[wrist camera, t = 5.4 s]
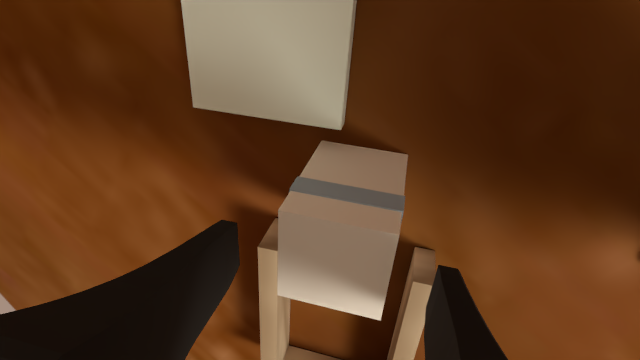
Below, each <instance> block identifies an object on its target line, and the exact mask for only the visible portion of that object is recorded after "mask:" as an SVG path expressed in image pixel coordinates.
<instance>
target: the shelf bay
mask: <svg viewBox="0 0 640 360" xmlns="http://www.w3.org/2000/svg"><path fill="white" fill-rule="evenodd" d="M435 275H436V273H435V251H433V250H428V249H423V248H418V247H415V248H414V252H413V256H412V260H411V264H410V268H409V272H408V276H407V280H406V284H405V288H404V292H403V296H402V300H401V305H400V309H399V313H398V317H397V321H396V325H395V329H394V333H393V337H392V341H391V345H390V349H389V353H388V357H387V360H413V359H414V356H415V353H416V350H417V346H418V343H419V340H420V337H421V333H422V330H423V327H424V324H425V313H426V305H427V302H428V299H429V295H430V292H431V289H432V285H433V282H434V279H435ZM258 276H259V312H260V347H261V360H341V359H337V358H334V357H330V356H326V355H323V354H319V353H315V352H311V351H308V350H304V349H300V348H297V347H293V346H289V326H290V298H287V297H283V296H279V295H277V286H278V219H277V218H275V219H274V221H273V223H272V224H271V226H270V228H269V229H268V231H267V232H266V234H265V236H264V237H263V239H262V241H261V242H260V244H259V246H258Z"/></svg>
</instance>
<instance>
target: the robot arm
mask: <svg viewBox="0 0 640 360" xmlns="http://www.w3.org/2000/svg"><path fill="white" fill-rule="evenodd" d="M239 265H240V261H239V245H238V229H237V223H235V222H230V221H226V220H221V221H219V222H217V223H215V224H214V225H212V226H211V227H209V228H207V229H206V230H204V231H203V232H201V233H199V234H198V235H196V236H195V237H193V238H191V239H190V240H188V241H186V242H185V243H183V244H182V245H180V246H178V247H177V248H175V249H173V250H171V251H170V252H168V253H166V254H164V255H162V256H161V257H159V258H157V259H155V260H153V261H151V262H150V263H148V264H146V265H144V266H142V267H140V268H138V269H136V270H134V271H131V272H129V273H127V274H125V275H123V276H120V277H118V278H116V279H113V280H111V281H108V282H106V283H103V284H100V285H98V286H95V287H93V288H90V289H88V290H85V291H82V292H79V293H76V294H73V295H70V296H67V297H64V298H61V299H57V300H54V301H51V302H48V303H44V304H40V305H37V306H33V307H29V308H25V309H21V310H17V311H13V312H9V313H5V314H0V360H185V358H186V356H187V354H188V352H189V351H190V349H191V347H192V346H193V344H194V342H195V340H196V339H197V337H198V336H199V334H200V333H201V331H202V330H203V328H204V326H205V325H206V323H207V322H208V320H209V319H210V317H211V316H212V314H213V312H214V311H215V309H216V308H217V306H218V305H219V303H220V302H221V300H222V298H223V297H224V295H225V294H226V292H227V290H228V289H229V287H230V285H231V283H232V281H233V279H234V276H235V274H236V272H237V270H238V268H239ZM424 343H425V360H508V359H507V357H506V356H505V354H504V353H503V351H502V350H501V348H500V346H499V345H498V343H497V342H496V340H495V339H494V337H493V335H492V334H491V332H490V330H489V328H488V327H487V325H486V323H485V321H484V320H483V318H482V316H481V314H480V312H479V311H478V309H477V307H476V305H475V303H474V301H473V299H472V297H471V295H470V293H469V291H468V289H467V287H466V284H465V282H464V280H463V278H462V276H461V273H460V272H459V270H458V269H456V268H451V267H446V266H441V265H438V269H437V272H436V275H435V279H434V282H433V285H432V289H431V292H430V295H429V299H428V302H427V305H426V313H425V330H424Z"/></svg>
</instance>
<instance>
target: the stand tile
mask: <svg viewBox="0 0 640 360" xmlns="http://www.w3.org/2000/svg"><path fill="white" fill-rule="evenodd" d="M356 4H357V0H181V5H182V14H183V22H184V31H185V40H186V49H187V58H188V66H189V75H190V84H191V93H192V101H193V107H194V108H201V109H207V110H214V111H220V112H226V113H233V114H239V115H246V116H252V117H259V118H265V119H271V120H278V121H284V122H291V123H297V124H304V125H310V126H316V127H323V128H329V129H336V130H341V129H342V127H343V125H344V121H345V112H346V102H347V92H348V82H349V72H350V63H351V53H352V43H353V33H354V23H355V14H356Z"/></svg>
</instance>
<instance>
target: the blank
mask: <svg viewBox="0 0 640 360" xmlns="http://www.w3.org/2000/svg"><path fill="white" fill-rule="evenodd" d="M407 161H408V154H402V153H396V152H390V151H383V150H377V149H371V148H365V147H359V146H353V145H347V144H341V143H335V142H329V141H323V140H322V141H321V142H320V144H319V146H318V147H317V149H316V150H315V152H314V154H313V155H312V157H311V158H310V160H309V162H308V163H307V165H306V166H305V168H304V170H303V171H302V173H301V175H300V176H297V178H296V179H295V181H294V182H293V184H292V186H291V187H290V189H289V194H288V195H287V197H286V199H285V200H284V202H283V203H282V205H281V207H280V208H279V210H278V286H277V295H279V296H283V297H287V298H291V299H295V300H299V301H303V302H307V303H311V304H315V305H319V306H323V307H327V308H331V309H335V310H339V311H343V312H347V313H352V314H356V315H360V316H364V317H368V318H372V319H376V320H380V321H381V317H382V312H383V308H384V303H385V299H386V294H387V289H388V285H389V280H390V276H391V271H392V267H393V262H394V258H395V253H396V248H397V244H398V239H399V234H400V226H401V221H402V217H403V212H404V203H405V196H404V188H405V179H406V170H407Z"/></svg>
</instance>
